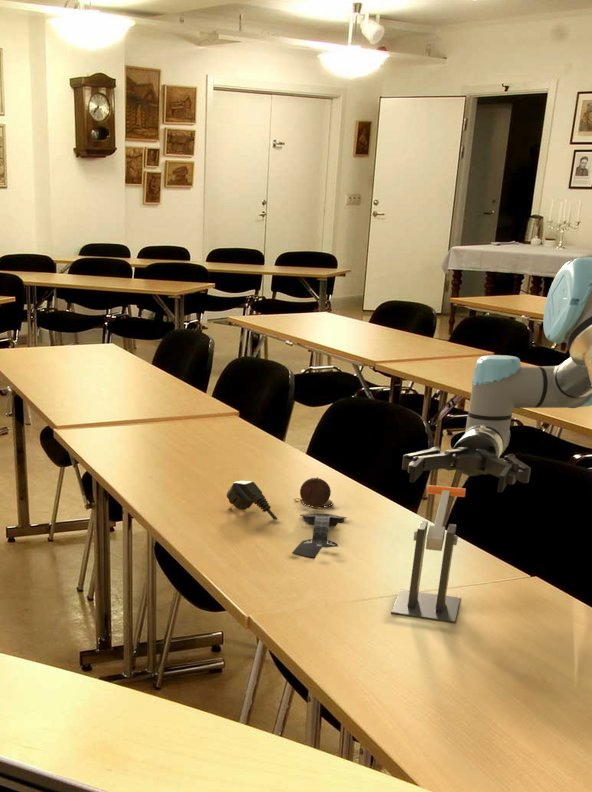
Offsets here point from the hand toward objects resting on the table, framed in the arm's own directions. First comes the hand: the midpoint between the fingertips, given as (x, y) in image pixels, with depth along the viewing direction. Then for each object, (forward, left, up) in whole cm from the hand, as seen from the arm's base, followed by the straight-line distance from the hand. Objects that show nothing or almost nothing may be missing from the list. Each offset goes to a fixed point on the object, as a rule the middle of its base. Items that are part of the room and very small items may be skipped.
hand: (455, 479), depth 149 cm
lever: (+1, +13, -3) cm, 13 cm away
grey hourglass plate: (+23, -11, -16) cm, 30 cm away
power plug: (+39, -21, -17) cm, 47 cm away
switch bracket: (+1, +18, -17) cm, 25 cm away
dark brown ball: (+29, -31, -17) cm, 45 cm away
